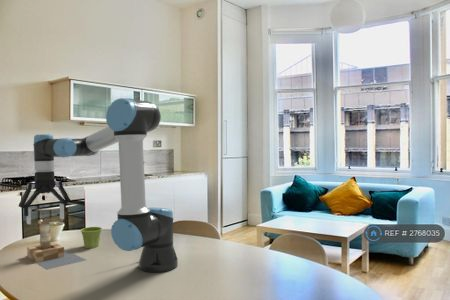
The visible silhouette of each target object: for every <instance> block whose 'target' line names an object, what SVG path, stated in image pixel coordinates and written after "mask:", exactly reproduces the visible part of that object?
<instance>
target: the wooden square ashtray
mask: <svg viewBox="0 0 450 300" xmlns="http://www.w3.org/2000/svg"><path fill="white" fill-rule="evenodd" d="M64 250H65V246H63V245H60V244H58V243H56V242H54V241H53V242H51V248H49V249H44V250H40V244H39V245H32V246H28V247H26V252H27V255H26V256H27V257H29V258H30V259H32V260H34V261H35V262H42V261H46V260H51V259H55V258H60V257H64ZM27 257H26V258H27ZM30 259H29V260H30ZM32 260H31V261H32ZM35 262H34V263H35Z"/></svg>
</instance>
